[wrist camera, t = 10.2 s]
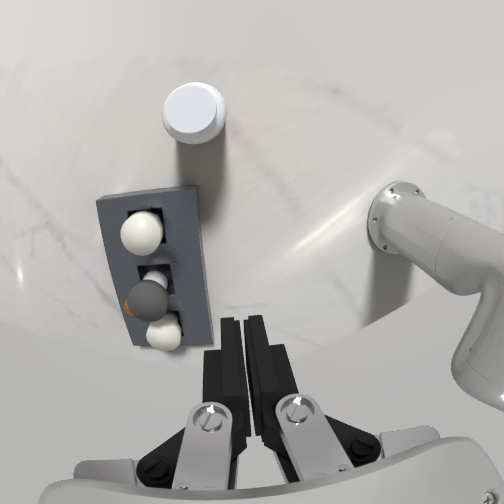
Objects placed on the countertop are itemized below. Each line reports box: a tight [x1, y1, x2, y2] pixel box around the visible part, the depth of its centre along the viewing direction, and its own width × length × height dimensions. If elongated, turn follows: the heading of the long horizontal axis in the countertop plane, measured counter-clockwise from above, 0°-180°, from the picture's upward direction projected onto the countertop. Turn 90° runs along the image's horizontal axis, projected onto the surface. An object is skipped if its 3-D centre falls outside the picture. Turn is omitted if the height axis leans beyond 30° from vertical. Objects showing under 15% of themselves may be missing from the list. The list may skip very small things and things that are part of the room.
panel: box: [96, 185, 213, 346], centre depth 39 cm, size 25×14×4 cm, turn 2°
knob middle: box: [127, 271, 169, 322], centre depth 35 cm, size 5×5×6 cm
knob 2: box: [146, 311, 181, 351], centre depth 41 cm, size 5×5×6 cm
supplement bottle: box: [162, 82, 227, 144], centre depth 27 cm, size 7×7×13 cm
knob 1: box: [121, 209, 163, 256], centre depth 35 cm, size 5×5×6 cm
